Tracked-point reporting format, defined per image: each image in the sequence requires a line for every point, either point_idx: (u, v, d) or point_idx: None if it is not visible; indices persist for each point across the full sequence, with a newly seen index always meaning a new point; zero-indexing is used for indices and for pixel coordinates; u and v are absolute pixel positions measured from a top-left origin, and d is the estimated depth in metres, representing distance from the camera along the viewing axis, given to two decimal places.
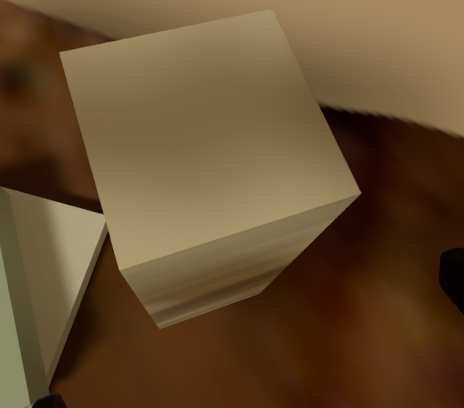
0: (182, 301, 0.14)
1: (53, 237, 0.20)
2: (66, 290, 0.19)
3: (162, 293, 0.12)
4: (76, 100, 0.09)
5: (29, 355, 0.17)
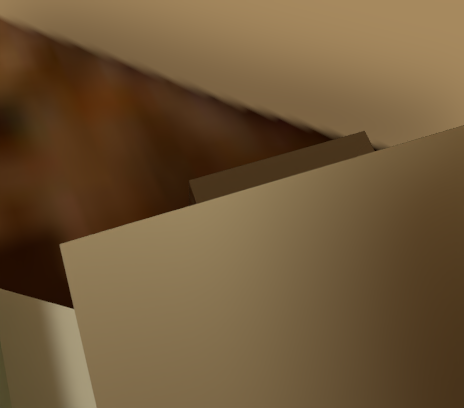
0: None
1: (55, 360, 0.14)
2: None
3: None
4: None
5: None
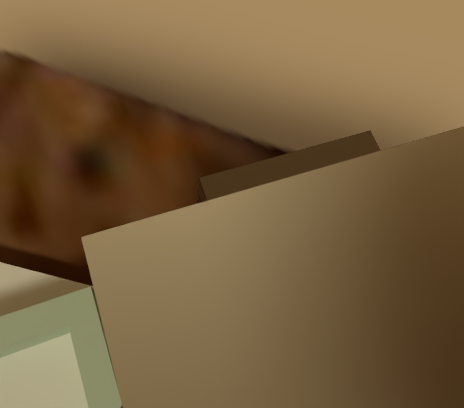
0: None
1: None
2: None
3: None
4: (131, 399, 0.03)
5: None
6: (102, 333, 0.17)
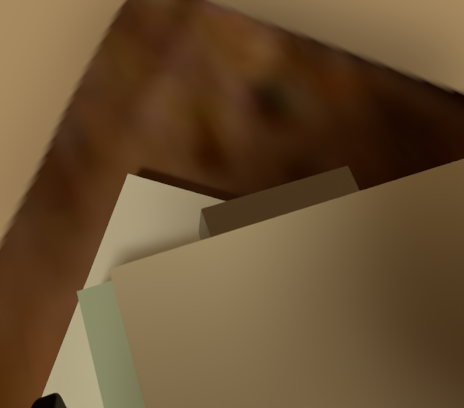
0: None
1: None
2: None
3: None
4: (150, 396, 0.04)
5: None
6: None
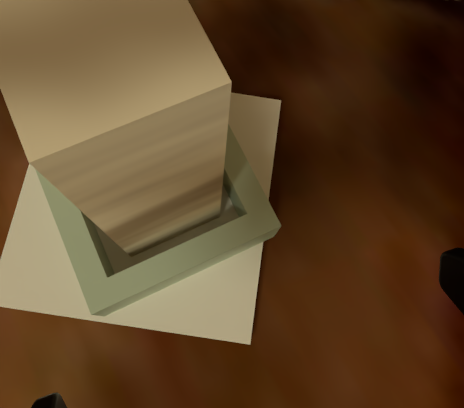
0: (130, 216, 0.16)
1: (243, 120, 0.24)
2: (264, 158, 0.24)
3: (98, 201, 0.13)
4: None
5: None
6: None
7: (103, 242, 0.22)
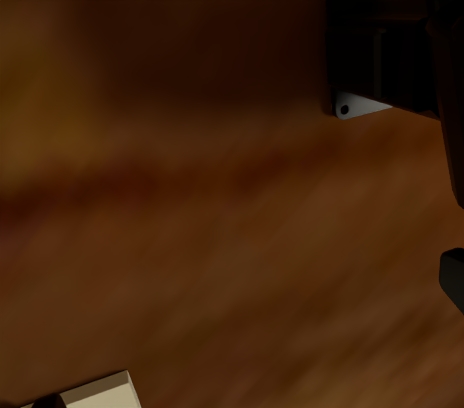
0: None
1: None
2: None
3: None
4: None
5: None
6: None
7: None
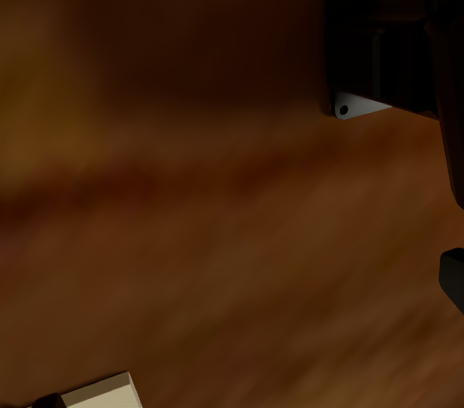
0: None
1: None
2: None
3: None
4: None
5: None
6: None
7: None
